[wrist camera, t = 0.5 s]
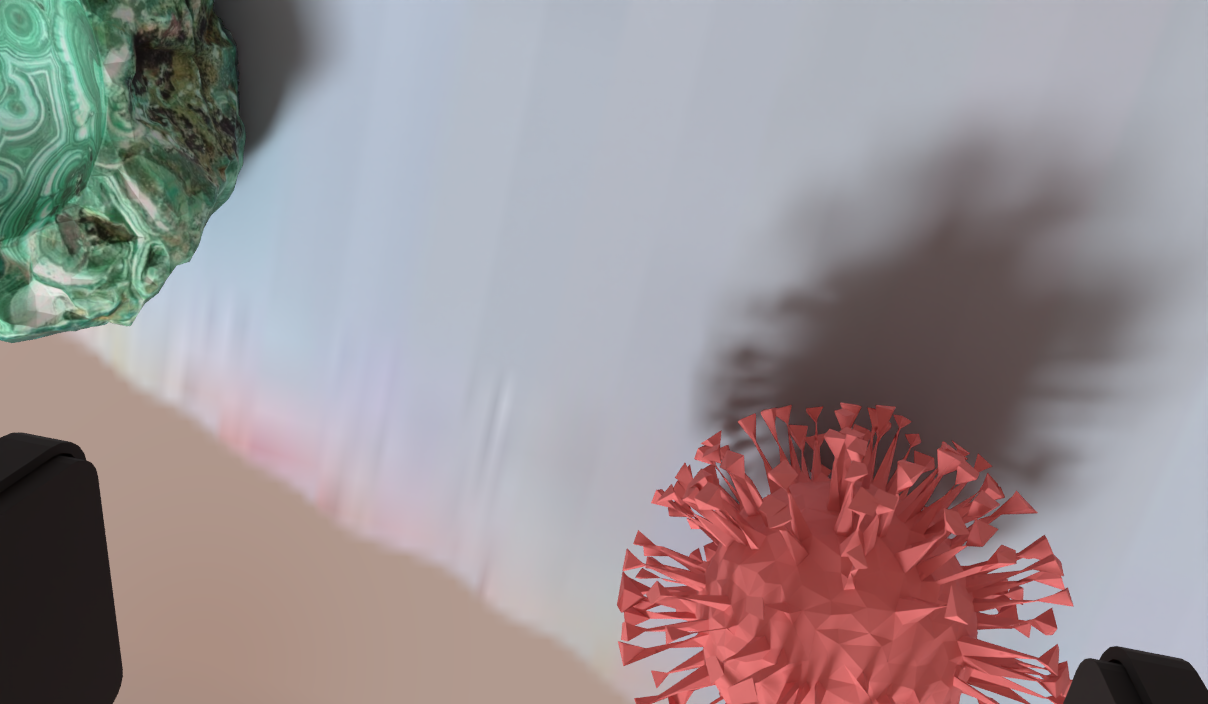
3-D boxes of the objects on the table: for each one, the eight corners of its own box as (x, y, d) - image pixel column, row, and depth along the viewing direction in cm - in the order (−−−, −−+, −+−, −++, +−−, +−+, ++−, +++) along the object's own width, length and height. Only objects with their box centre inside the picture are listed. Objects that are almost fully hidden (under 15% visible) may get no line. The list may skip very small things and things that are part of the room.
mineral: (413, 133, 36) (288, 191, 27) (153, 332, 41) (-24, 437, 32) (78, -326, 31) (-205, -443, 22) (-161, -36, 37) (-466, -35, 28)
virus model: (725, 676, 43) (700, 1004, 30) (593, 404, 39) (495, 642, 25) (1057, 599, 39) (1209, 945, 25) (951, 282, 34) (1064, 492, 21)
